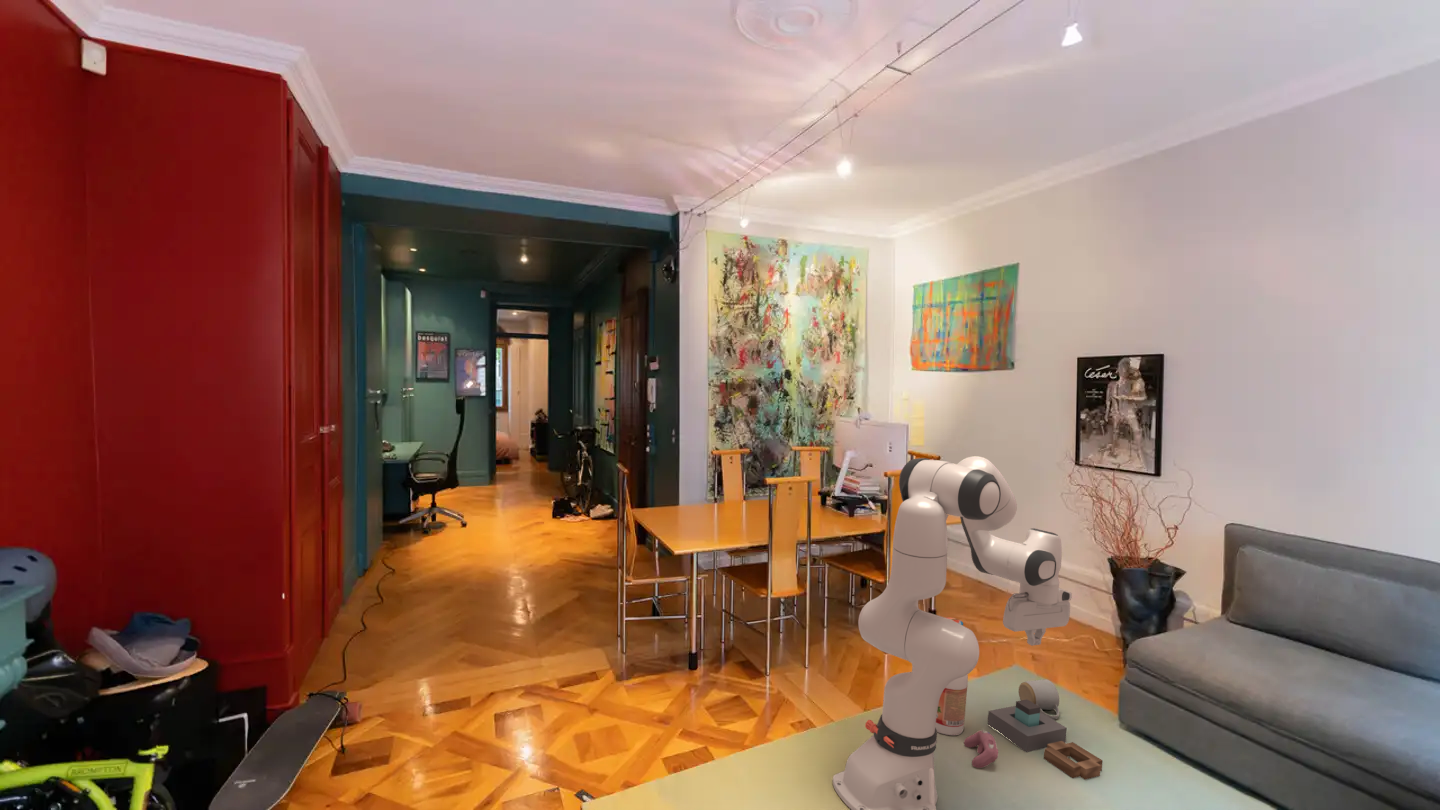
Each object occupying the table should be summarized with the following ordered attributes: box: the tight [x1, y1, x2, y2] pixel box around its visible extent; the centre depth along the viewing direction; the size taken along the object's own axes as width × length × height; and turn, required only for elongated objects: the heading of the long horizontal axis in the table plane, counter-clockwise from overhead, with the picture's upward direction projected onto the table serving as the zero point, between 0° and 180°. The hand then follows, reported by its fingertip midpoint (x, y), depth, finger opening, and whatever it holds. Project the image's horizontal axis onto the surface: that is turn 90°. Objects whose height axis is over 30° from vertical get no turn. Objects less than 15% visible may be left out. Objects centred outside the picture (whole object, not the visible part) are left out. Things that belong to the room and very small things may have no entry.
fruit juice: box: [935, 616, 969, 736], centre depth 155 cm, size 9×9×28 cm
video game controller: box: [963, 729, 999, 769], centre depth 142 cm, size 10×5×7 cm
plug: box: [1015, 699, 1040, 727], centre depth 154 cm, size 4×4×8 cm
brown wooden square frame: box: [1043, 741, 1103, 781], centre depth 142 cm, size 10×10×2 cm
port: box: [986, 705, 1067, 753], centre depth 154 cm, size 14×12×4 cm
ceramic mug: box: [1018, 678, 1060, 721], centre depth 167 cm, size 11×8×8 cm
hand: (1033, 644), depth 154 cm, fingers closed
